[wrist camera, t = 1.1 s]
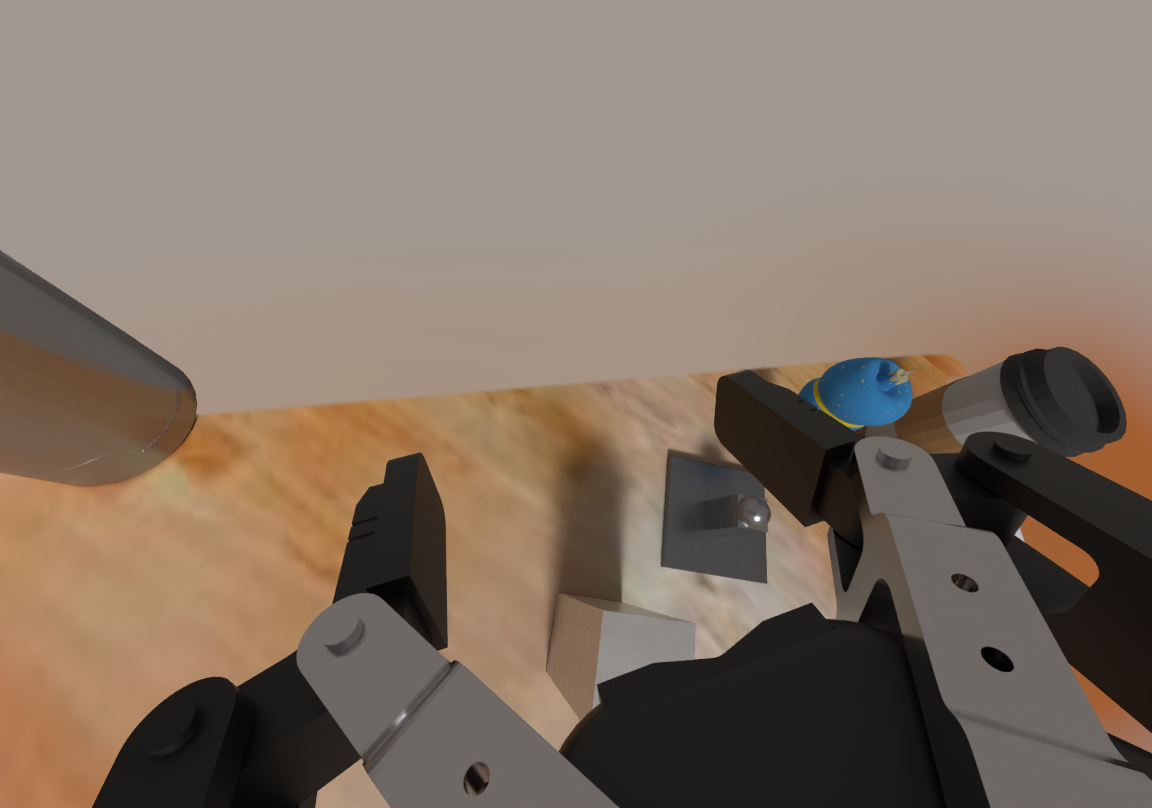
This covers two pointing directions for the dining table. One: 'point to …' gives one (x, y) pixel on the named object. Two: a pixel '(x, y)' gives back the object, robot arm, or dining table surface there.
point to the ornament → (861, 392)
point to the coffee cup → (1018, 406)
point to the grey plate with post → (714, 521)
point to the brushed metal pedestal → (609, 645)
